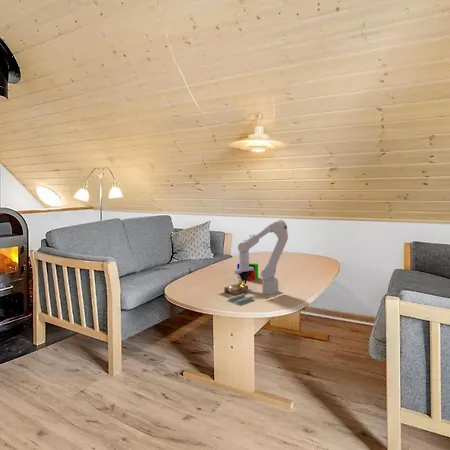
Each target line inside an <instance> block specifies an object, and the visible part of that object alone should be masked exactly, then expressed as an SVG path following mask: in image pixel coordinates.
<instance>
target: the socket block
mask: <svg viewBox="0 0 450 450" xmlns="http://www.w3.org/2000/svg"><path fill="white" fill-rule="evenodd" d="M236 285H239V282H238V283H235V284H231V285H227V286H224V287H223V288H224V292H221V293H217V296H221V297H223V298H224V297H225V298H226V299H229V298H231V297H234V296H237V295H241V294H245V293H249V292H251V291H253V289H249V285H246V284H245V286H242V287H239V288H235V289H232V290H231V292H232V293H231V294H229V293H228V292H227V288H229V287H233V286H236Z"/></svg>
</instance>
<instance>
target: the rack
mask: <svg viewBox="0 0 450 450" xmlns="http://www.w3.org/2000/svg"><path fill="white" fill-rule="evenodd" d="M254 301H255V299H254V298H253V296H251V295H250V296H246V294H245V293H242V294H239V295H236V296H232V297H229V298H228V300H226V302H228V303H231V304H234V305H235V306H236V305H237V306H242V305H245V304H248V303H250V302H254Z"/></svg>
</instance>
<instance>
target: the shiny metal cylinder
mask: <svg viewBox="0 0 450 450" xmlns="http://www.w3.org/2000/svg"><path fill="white" fill-rule="evenodd" d="M239 287H240V285H236V286H233V287H229V288H227V292H228V293H229V294H231V293H232V292H231V290H232V289H235V288H239Z"/></svg>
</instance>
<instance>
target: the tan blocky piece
mask: <svg viewBox="0 0 450 450" xmlns="http://www.w3.org/2000/svg"><path fill="white" fill-rule="evenodd" d="M238 283H239V285H240V287H242V286H246V284H245V280H242V279H238Z"/></svg>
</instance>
